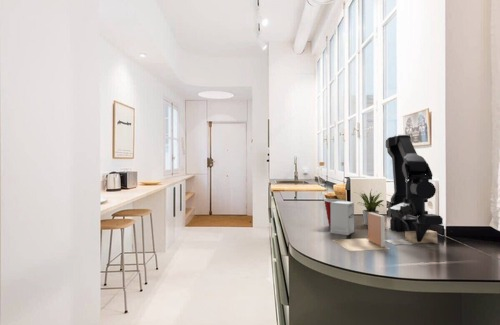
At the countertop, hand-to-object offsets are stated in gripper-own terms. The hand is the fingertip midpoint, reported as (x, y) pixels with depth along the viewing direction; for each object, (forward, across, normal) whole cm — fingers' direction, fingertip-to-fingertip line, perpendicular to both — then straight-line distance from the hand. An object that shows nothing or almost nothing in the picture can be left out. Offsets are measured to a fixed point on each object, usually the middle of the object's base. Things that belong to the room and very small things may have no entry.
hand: (415, 240), depth 106 cm
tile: (0, 0, -15) cm, 15 cm away
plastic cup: (+1, -31, -16) cm, 35 cm away
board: (+1, 0, -21) cm, 21 cm away
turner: (+1, 0, -2) cm, 2 cm away
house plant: (+1, -33, 0) cm, 33 cm away
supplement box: (+1, -18, -19) cm, 26 cm away
